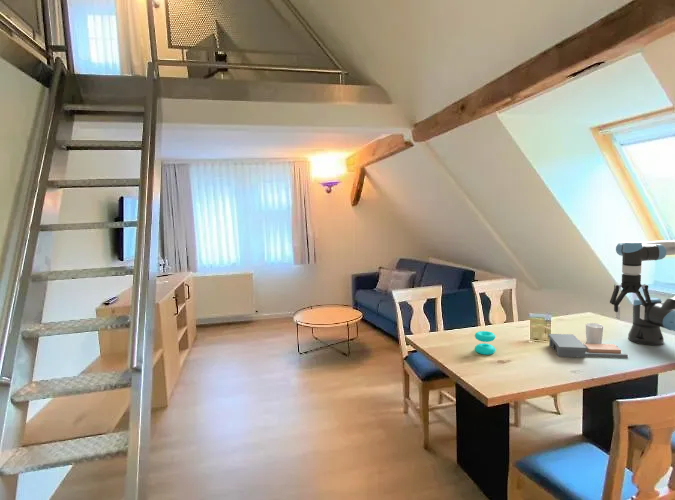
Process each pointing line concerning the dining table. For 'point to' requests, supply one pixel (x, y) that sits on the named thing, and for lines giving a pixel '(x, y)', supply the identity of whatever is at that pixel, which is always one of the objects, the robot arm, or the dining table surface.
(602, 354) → the overhang dock
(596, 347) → the salmon pink tile
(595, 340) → the white cup
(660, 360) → the dining table surface
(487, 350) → the donuts
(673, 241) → the robot arm
